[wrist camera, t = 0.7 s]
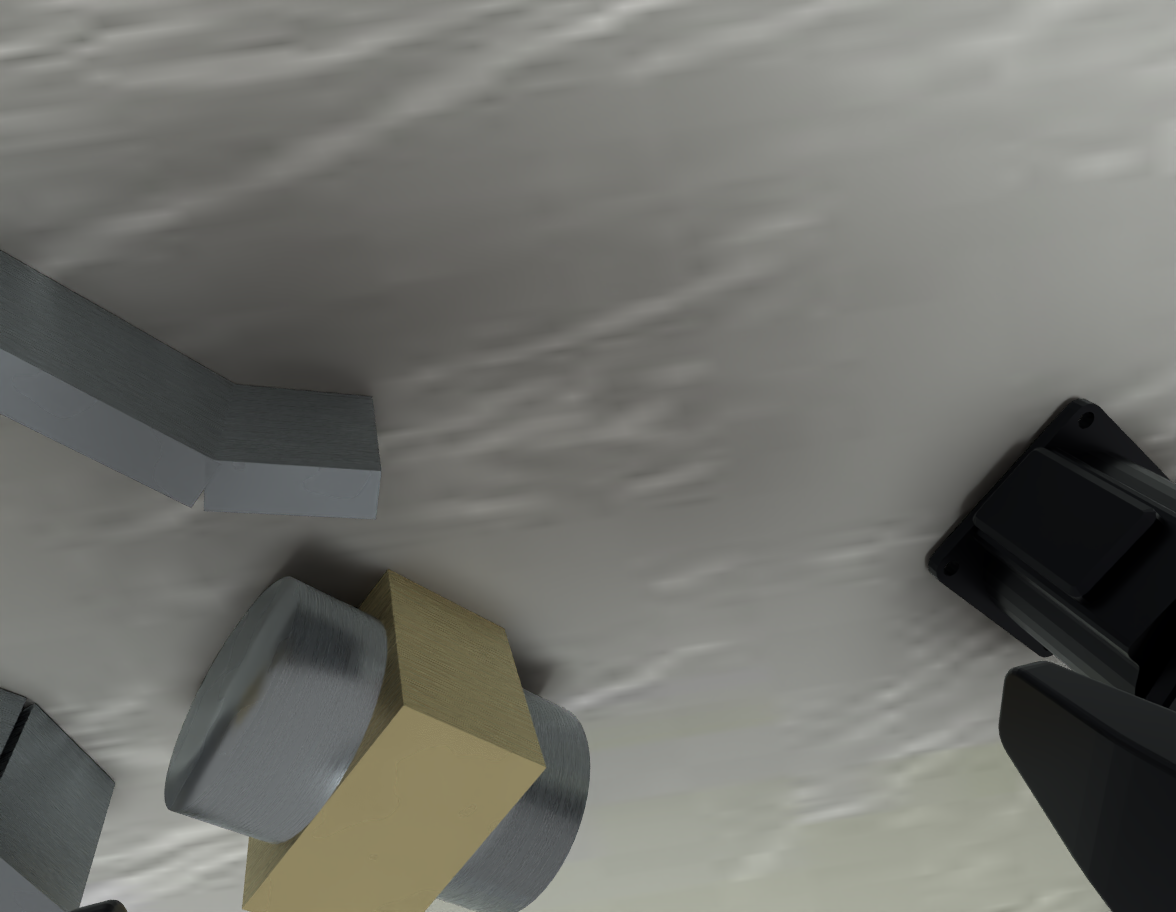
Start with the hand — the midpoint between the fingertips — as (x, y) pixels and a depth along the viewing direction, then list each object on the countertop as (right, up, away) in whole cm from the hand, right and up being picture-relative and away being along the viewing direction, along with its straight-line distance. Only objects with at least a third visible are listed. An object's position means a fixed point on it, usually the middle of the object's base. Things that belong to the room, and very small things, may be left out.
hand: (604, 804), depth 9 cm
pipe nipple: (-6, -2, +14) cm, 16 cm away
